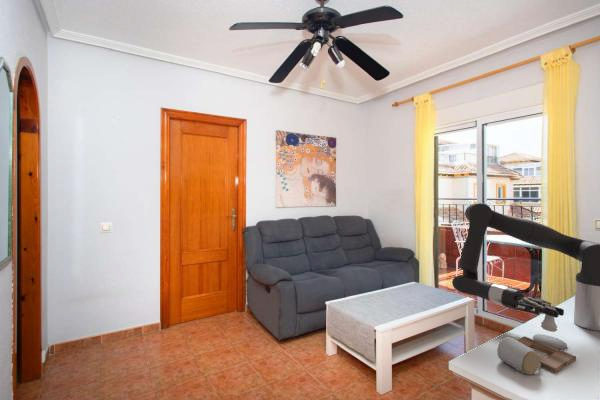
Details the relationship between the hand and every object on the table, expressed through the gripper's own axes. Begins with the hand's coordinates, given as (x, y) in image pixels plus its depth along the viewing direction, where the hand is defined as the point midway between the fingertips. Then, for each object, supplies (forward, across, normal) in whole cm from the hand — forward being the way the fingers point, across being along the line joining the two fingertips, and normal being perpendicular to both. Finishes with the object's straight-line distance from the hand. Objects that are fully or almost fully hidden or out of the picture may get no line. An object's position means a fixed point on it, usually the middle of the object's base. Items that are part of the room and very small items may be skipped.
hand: (560, 313), depth 100 cm
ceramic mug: (0, -25, +12) cm, 28 cm away
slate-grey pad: (-2, 0, +11) cm, 12 cm away
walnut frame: (0, -13, +11) cm, 17 cm away
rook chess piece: (-3, 0, +7) cm, 7 cm away
